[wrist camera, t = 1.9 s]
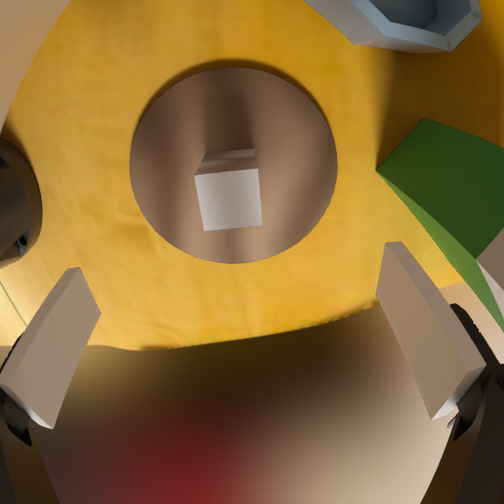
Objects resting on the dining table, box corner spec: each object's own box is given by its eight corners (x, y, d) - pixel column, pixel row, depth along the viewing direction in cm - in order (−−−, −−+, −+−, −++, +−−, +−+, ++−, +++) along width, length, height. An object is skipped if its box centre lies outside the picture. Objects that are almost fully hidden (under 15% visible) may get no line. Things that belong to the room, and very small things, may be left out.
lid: (158, 264, 30) (140, 311, 24) (118, 89, 21) (77, 95, 14) (330, 248, 30) (351, 293, 24) (330, 64, 20) (362, 58, 14)
